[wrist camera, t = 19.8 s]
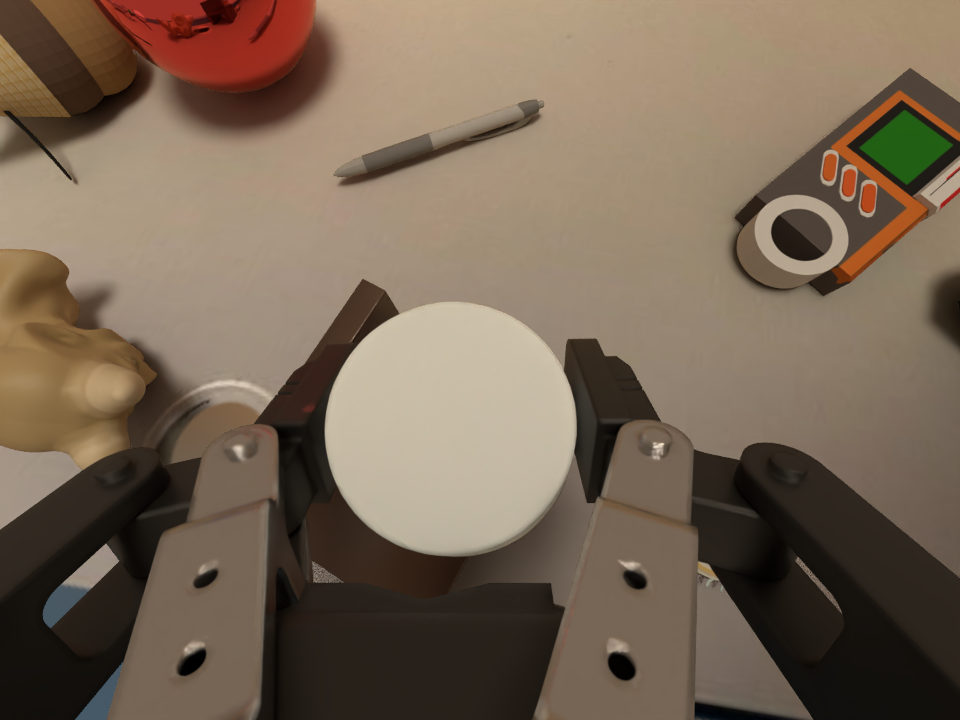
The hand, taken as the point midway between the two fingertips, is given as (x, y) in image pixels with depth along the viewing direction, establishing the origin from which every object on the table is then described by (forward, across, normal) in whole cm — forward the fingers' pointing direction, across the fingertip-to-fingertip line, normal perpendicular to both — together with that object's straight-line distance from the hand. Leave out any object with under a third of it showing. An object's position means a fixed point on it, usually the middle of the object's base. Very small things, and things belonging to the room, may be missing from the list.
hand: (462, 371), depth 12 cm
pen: (+20, +2, -4) cm, 21 cm away
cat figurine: (+10, +21, +6) cm, 24 cm away
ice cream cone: (+18, +32, -5) cm, 38 cm away
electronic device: (+17, -21, -1) cm, 27 cm away
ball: (+25, +15, -10) cm, 31 cm away
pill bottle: (+3, 0, +6) cm, 7 cm away
